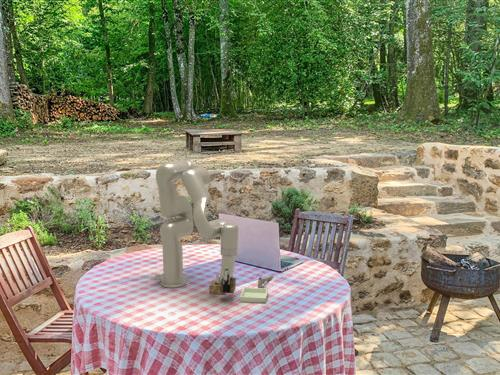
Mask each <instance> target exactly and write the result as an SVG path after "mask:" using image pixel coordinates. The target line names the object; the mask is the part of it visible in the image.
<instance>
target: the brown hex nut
mask: <svg viewBox="0 0 500 375" xmlns="http://www.w3.org/2000/svg"><path fill="white" fill-rule="evenodd" d="M208 289H209V295H226V294H227V293H220V285H217V284H216V279H212V280H211V282H210V283H209V288H208Z"/></svg>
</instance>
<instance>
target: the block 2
mask: <svg viewBox="0 0 500 375" xmlns="http://www.w3.org/2000/svg"><path fill="white" fill-rule="evenodd" d="M223 280H224V276H223V277H221V281H220V293H226V294H233V295H234V293H235V290H236V284H237V283H236V282H237V281H236V280H237V279H236V277H233V278H230V293H228V292H223ZM227 280H229V278H227Z"/></svg>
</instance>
